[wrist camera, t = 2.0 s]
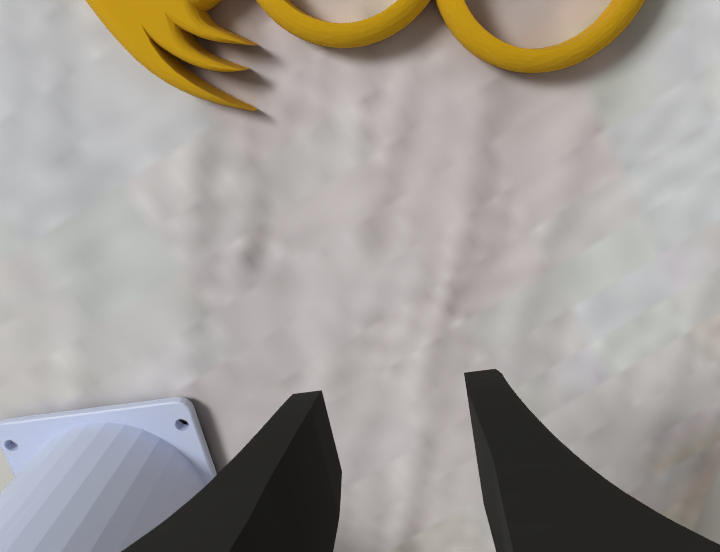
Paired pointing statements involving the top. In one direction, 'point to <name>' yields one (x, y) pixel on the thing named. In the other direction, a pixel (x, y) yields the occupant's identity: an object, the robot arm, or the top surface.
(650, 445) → the top surface
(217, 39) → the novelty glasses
